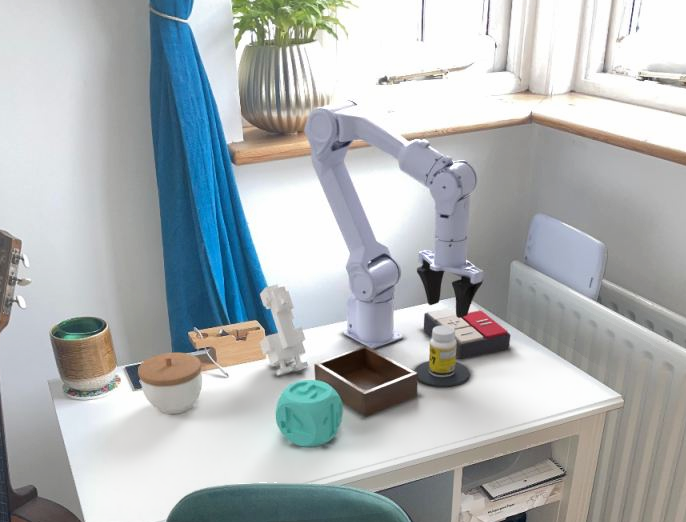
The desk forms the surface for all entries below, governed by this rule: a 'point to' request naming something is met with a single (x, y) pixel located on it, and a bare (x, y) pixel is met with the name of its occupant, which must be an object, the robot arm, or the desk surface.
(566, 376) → the desk surface
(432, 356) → the supplement bottle
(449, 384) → the coaster
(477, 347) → the calculator
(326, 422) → the decorative dice
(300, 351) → the voxel character
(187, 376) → the trinket box
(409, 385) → the box
